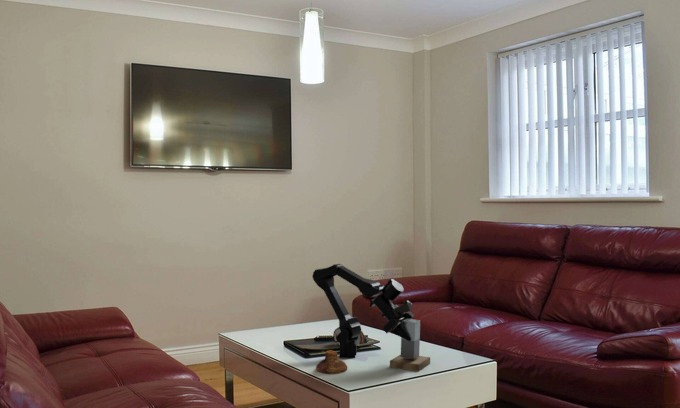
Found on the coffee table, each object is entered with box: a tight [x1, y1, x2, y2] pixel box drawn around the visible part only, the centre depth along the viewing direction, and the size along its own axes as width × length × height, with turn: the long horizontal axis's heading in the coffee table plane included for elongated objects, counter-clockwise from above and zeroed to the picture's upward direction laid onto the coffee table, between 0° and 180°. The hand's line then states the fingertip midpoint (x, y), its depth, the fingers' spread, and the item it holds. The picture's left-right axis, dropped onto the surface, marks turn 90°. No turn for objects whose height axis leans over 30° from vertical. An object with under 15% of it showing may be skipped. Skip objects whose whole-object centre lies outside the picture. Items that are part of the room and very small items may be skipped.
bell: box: [315, 350, 348, 375], centre depth 237 cm, size 12×12×7 cm
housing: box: [400, 318, 421, 359], centre depth 242 cm, size 6×6×14 cm
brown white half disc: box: [333, 326, 366, 345], centre depth 275 cm, size 15×3×8 cm, turn 58°
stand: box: [389, 354, 431, 372], centre depth 242 cm, size 12×12×2 cm
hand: (413, 338), depth 242 cm, fingers closed on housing, 5 cm apart
